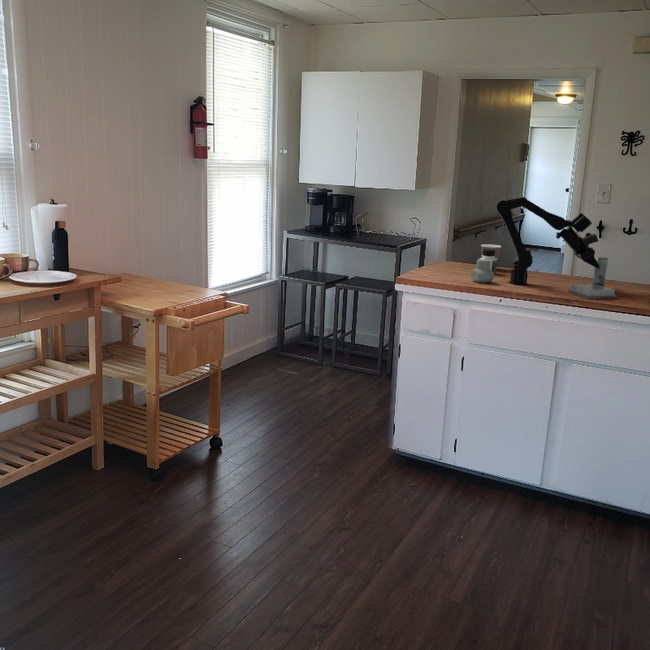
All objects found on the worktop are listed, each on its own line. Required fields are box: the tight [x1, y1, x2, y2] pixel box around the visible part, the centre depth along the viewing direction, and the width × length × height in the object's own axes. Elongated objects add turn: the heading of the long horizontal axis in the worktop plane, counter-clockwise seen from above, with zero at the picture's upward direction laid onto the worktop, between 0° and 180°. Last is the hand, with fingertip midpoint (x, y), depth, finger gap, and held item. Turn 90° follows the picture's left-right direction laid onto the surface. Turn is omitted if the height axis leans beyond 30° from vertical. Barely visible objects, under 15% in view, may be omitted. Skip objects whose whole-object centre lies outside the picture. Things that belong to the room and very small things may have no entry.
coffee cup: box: [480, 243, 502, 264], centre depth 342 cm, size 10×10×12 cm
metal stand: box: [567, 283, 618, 300], centre depth 283 cm, size 14×14×4 cm
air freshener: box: [470, 258, 496, 284], centre depth 304 cm, size 11×8×10 cm
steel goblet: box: [592, 256, 609, 287], centre depth 297 cm, size 7×7×14 cm
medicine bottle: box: [479, 248, 498, 274], centre depth 329 cm, size 7×7×12 cm
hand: (595, 265), depth 297 cm, fingers open, 9 cm apart
